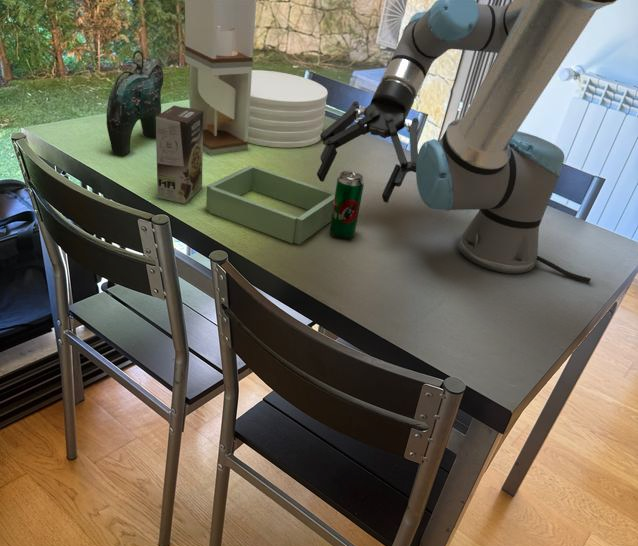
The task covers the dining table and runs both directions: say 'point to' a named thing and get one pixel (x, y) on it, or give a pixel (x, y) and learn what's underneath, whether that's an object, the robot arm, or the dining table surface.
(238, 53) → the white tower
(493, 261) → the robot arm
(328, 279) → the dining table surface
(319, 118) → the plate stack
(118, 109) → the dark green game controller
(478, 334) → the dining table surface
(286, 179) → the bin
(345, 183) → the soda can
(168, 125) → the coffee box
